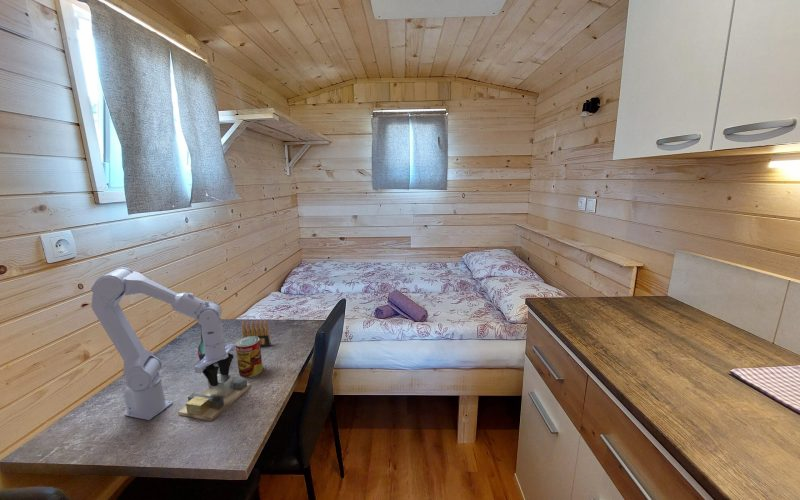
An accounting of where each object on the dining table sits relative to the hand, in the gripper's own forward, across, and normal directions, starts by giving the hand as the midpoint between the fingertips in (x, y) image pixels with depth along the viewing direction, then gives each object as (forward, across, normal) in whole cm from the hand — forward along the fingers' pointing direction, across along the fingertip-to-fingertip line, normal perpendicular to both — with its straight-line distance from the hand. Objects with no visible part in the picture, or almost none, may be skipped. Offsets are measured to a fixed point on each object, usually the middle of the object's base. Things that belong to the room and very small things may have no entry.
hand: (219, 381), depth 107 cm
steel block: (+4, 0, 0) cm, 4 cm away
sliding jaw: (+4, -8, 0) cm, 9 cm away
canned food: (+6, +14, 0) cm, 16 cm away
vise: (+5, -2, 0) cm, 6 cm away
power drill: (+6, +18, +20) cm, 27 cm away
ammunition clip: (+6, +32, +10) cm, 34 cm away
